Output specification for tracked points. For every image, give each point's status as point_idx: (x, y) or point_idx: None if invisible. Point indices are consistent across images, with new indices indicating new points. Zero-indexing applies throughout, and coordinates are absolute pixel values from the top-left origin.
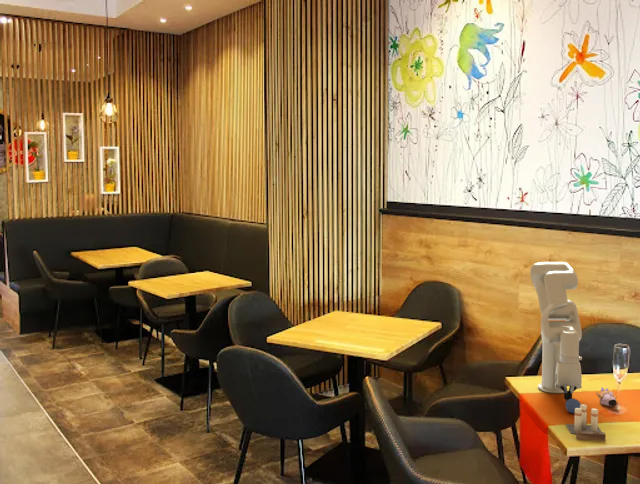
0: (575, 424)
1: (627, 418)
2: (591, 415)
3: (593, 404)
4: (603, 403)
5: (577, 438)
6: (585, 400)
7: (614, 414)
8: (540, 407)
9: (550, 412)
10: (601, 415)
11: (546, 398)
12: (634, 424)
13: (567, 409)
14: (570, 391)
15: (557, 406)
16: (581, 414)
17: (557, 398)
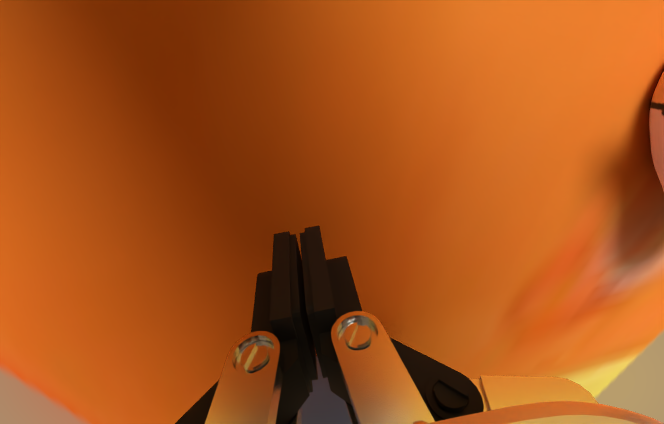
0: None
1: (632, 333)
2: None
3: (559, 143)
4: (657, 165)
5: None
6: (534, 17)
7: (597, 303)
8: (65, 350)
9: (174, 398)
10: (504, 340)
11: (2, 68)
12: (610, 382)
13: None
14: (347, 408)
15: (207, 289)
16: None
17: (164, 23)
